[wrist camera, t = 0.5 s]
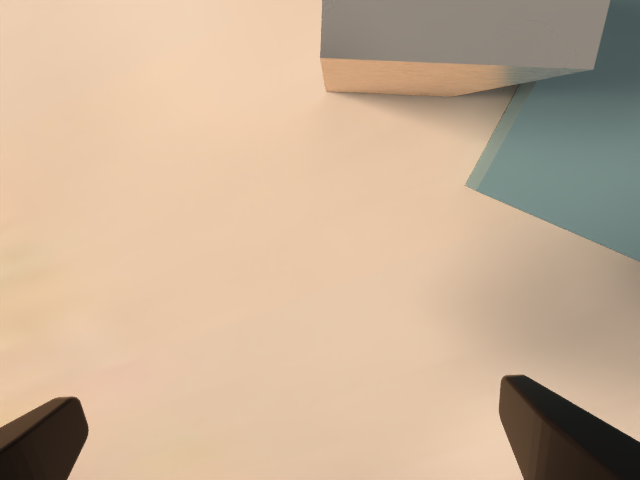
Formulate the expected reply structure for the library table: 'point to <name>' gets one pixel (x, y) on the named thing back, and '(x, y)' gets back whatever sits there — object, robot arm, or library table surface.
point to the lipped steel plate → (576, 143)
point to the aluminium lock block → (455, 43)
